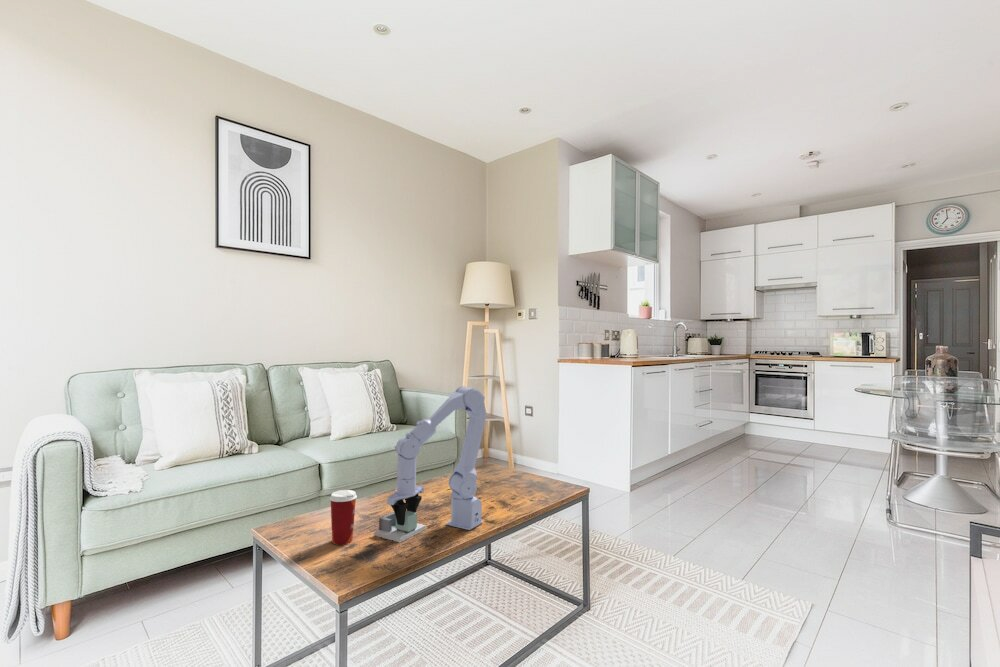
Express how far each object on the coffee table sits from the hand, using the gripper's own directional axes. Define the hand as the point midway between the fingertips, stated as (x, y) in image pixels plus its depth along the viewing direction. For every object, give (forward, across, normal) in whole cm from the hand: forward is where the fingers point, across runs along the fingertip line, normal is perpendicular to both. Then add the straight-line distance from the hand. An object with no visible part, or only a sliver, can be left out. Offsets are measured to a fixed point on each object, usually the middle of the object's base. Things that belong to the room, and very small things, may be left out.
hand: (405, 522), depth 146 cm
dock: (+3, 0, -2) cm, 4 cm away
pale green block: (+2, 0, 0) cm, 2 cm away
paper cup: (+4, +14, -12) cm, 19 cm away
